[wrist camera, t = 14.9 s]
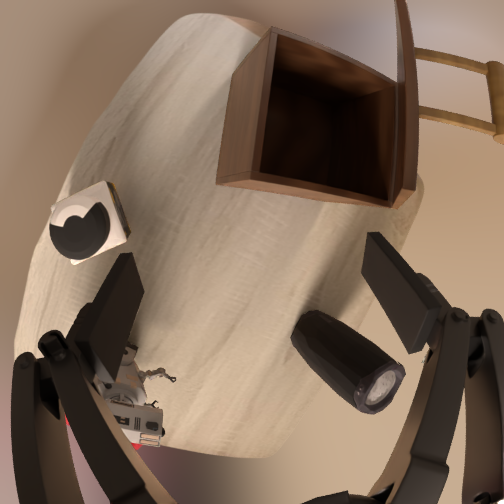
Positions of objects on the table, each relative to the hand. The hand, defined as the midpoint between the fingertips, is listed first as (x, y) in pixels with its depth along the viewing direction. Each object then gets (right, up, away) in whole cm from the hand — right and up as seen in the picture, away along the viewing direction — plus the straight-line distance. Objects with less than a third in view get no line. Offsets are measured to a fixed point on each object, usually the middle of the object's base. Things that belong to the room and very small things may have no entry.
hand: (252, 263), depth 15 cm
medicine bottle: (-20, +5, +18) cm, 27 cm away
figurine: (-19, -17, +23) cm, 34 cm away
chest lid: (+13, +13, +5) cm, 19 cm away
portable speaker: (+10, -13, +32) cm, 36 cm away
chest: (+4, +17, +24) cm, 30 cm away
